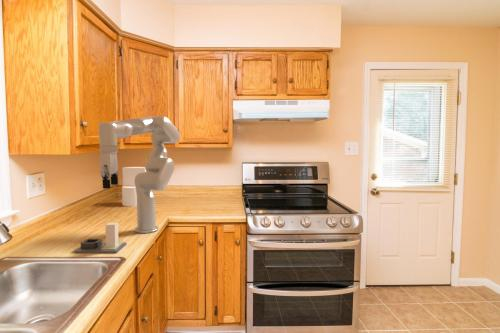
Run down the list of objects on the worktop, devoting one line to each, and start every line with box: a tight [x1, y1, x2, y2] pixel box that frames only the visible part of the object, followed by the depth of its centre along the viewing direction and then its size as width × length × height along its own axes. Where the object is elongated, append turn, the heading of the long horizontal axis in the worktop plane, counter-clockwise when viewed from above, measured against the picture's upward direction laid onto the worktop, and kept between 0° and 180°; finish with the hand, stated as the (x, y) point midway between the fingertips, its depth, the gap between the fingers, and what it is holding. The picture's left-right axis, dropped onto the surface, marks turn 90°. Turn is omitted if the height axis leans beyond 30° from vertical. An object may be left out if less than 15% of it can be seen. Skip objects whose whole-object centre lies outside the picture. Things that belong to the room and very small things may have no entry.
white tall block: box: [121, 166, 147, 207], centre depth 252 cm, size 17×17×28 cm
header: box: [74, 238, 127, 254], centre depth 149 cm, size 12×18×4 cm, turn 91°
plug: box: [105, 222, 119, 247], centre depth 149 cm, size 4×4×10 cm
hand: (110, 186), depth 153 cm, fingers open, 9 cm apart
